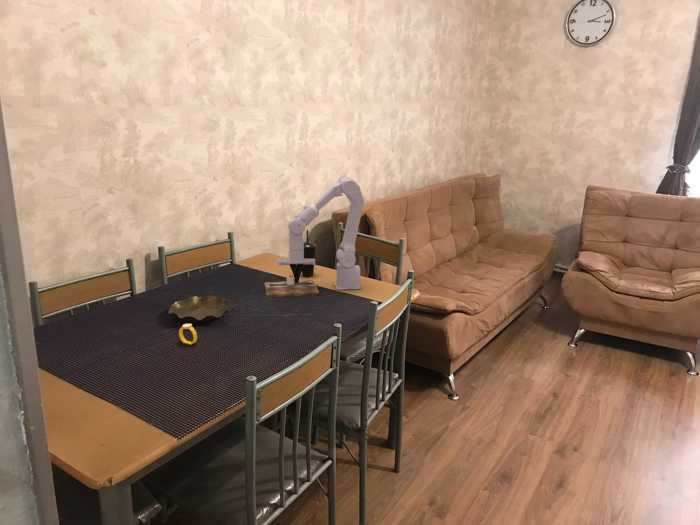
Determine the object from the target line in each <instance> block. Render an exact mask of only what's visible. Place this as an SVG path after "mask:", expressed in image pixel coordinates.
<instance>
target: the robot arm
mask: <svg viewBox="0 0 700 525" xmlns="http://www.w3.org/2000/svg"><path fill="white" fill-rule="evenodd" d="M343 194H344V195H345V196H346V198H347V199H348V201H349V202H350V204H349V209H348V214H347V219H346V223H345V228H344V233H343V237H342V241H341V243H340V244H339V248H338V249H337V251H336V254H335V258H336V260H338V262H337V263H336V282H334V283H333V285H334V287H335V288H336V290H337V291H342V290H343V291H344V290H360V289H361V267H360V265H358V264H356V261H357V260H356V255H355V253H356V240H357V235H358V231H359V226H360V222H361V218H362V212H363V209H364V208H363V207H364V203H365V199H364V196H363V194H362V191H361V187H360V185H359V184H358V183H357V181H356V180H354V179H352V178H351V177H349V176H341V177H339V179H338V180H336V181H335V182H334V183H333V184H331V186H329V188H328V189H327V190H326V191H325V192H324V193H323V194H321V196H320V197H319V198H318V199H317V200H315V202H313V204H312V203H311V204H307V205H306V204H305V205H303V207H302V208H303V209H302V210H301V211H299V212H298V214H295V215H294V217H293V218H291V219H290V220H289V221H288V223H287V228H288V230H289V231H288V258H285V259H277V266H278V267H280V266H289V267H290V270H291V271H292V275H293V277H294V281H295V283H299V281H300V277H301V275H302V270H303V268H304V266H303V264H312V265H314V266H315V265H316V258H315V259H307V258H304V242H305V240H304V239H305V238H304V232H305V229H306V227H308V226H309V225H310V224H312V222H313V221H314V220H315V219H316V218H317V217H319V214H320V210H322V208H323V207H325V206H326V205H327V204H328V203H329V202H330V201H332V200H333V199H334V198H337V197H343V196H344V195H343Z"/></svg>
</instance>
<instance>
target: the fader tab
mask: <svg viewBox="0 0 700 525" xmlns="http://www.w3.org/2000/svg"><path fill="white" fill-rule="evenodd" d="M286 281H287V284H286V286H290V285H294V281H295V280H294V275H293V274H286Z"/></svg>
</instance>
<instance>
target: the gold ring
mask: <svg viewBox="0 0 700 525" xmlns="http://www.w3.org/2000/svg"><path fill="white" fill-rule="evenodd" d="M183 330H190V332H191V333H192V338H193V340H192V341H189V340H187V339H186V338H185V336H184V333H183V332H184V331H183ZM178 337H179V338H180V341H181V342H182V343H183V344H187V345H193V344H195V343H196V342H197V340H198V334H197V331H196V329H195V328H194V327H193V324H192V323H184V324H182V326H181V327H180V328H179V331H178Z"/></svg>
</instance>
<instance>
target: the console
mask: <svg viewBox="0 0 700 525" xmlns="http://www.w3.org/2000/svg"><path fill="white" fill-rule="evenodd" d="M286 284H287V280H286V281H284V280H283V281H271V282H270V281H267V282H266V281H265V282H264V289H265V295H266V298H278V297H279V298H281V297H297V296H298V297H300V296H303V297H304V296H317V295H318V294H319V295H320V291H319V290H318V287H317V284H316V282H315V280H313V279H310V280H306V279H305V280H299V283H295V280H294V285H290V286H286ZM319 295H318V296H319Z"/></svg>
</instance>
